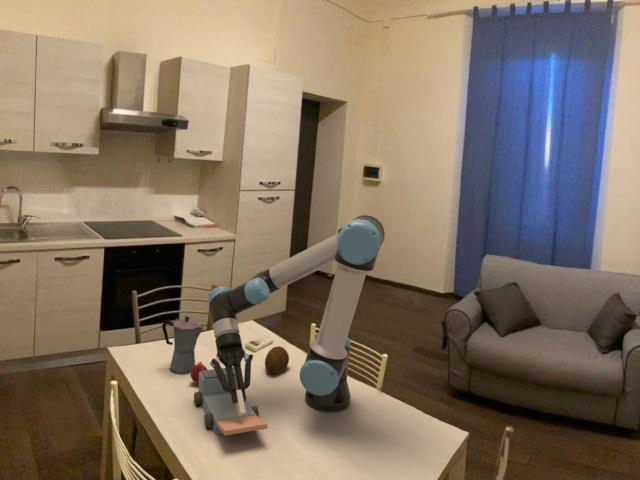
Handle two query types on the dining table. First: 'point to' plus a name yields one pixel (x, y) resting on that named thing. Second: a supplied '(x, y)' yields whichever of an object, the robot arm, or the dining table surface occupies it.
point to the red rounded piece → (197, 372)
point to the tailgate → (241, 424)
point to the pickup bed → (218, 400)
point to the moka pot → (183, 343)
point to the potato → (276, 360)
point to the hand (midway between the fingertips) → (241, 413)
